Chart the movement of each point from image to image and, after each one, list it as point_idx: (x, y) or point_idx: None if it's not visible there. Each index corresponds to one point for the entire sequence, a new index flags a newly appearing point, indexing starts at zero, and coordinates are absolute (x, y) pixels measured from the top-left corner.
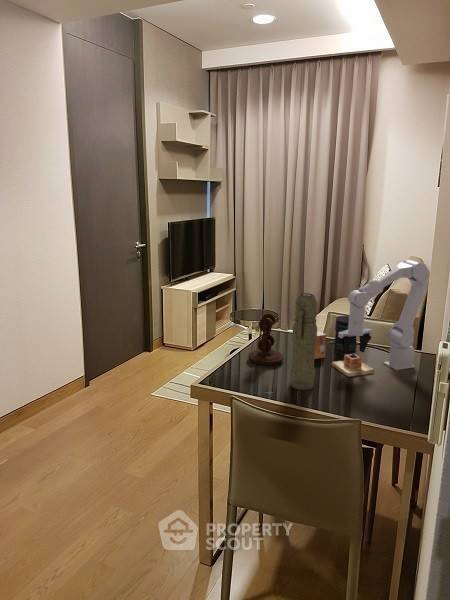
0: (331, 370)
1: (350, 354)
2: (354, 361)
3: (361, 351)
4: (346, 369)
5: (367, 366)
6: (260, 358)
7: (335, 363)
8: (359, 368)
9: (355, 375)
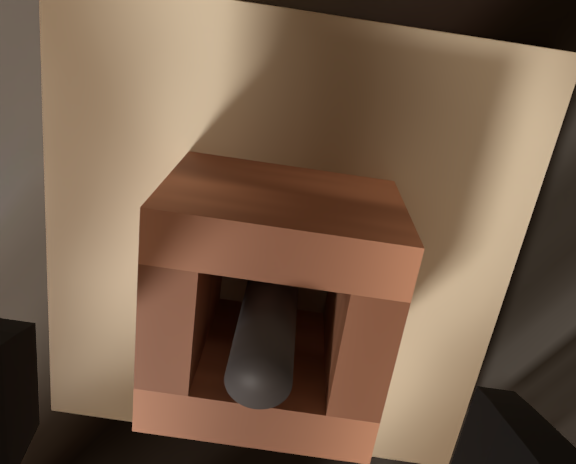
0: (566, 327)
1: (241, 437)
2: (341, 215)
3: (33, 369)
4: (478, 192)
5: (73, 127)
6: None
7: (441, 417)
8: (254, 126)
9: (420, 28)
